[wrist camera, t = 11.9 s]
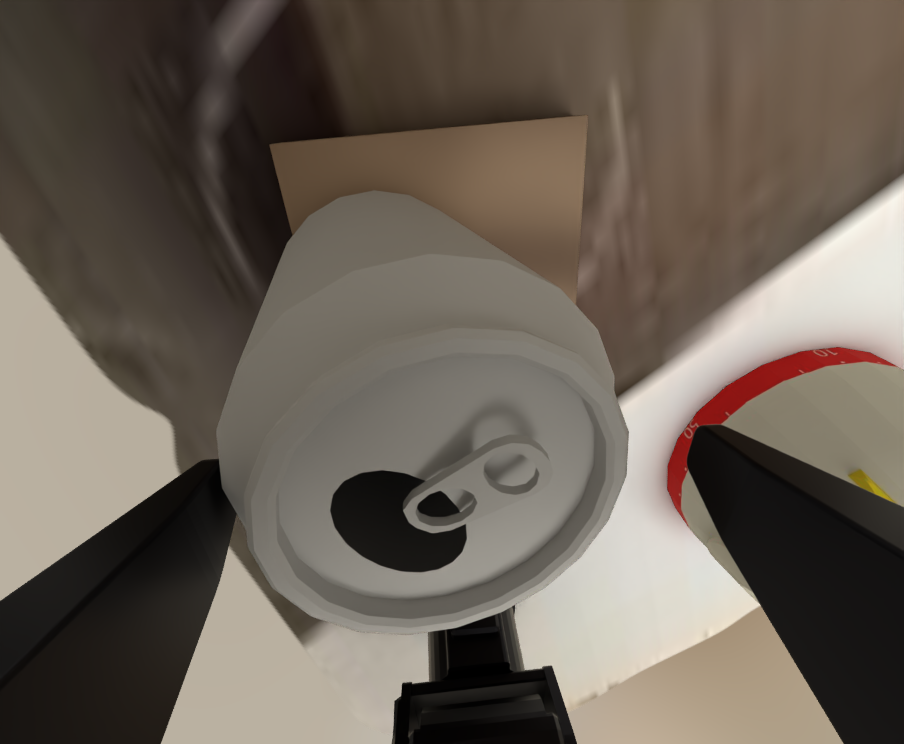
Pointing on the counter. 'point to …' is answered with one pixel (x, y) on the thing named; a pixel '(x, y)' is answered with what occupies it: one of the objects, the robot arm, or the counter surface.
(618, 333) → the counter surface
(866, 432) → the kitchen timer
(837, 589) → the robot arm
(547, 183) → the brown flat square block
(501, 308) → the can
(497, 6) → the counter surface
